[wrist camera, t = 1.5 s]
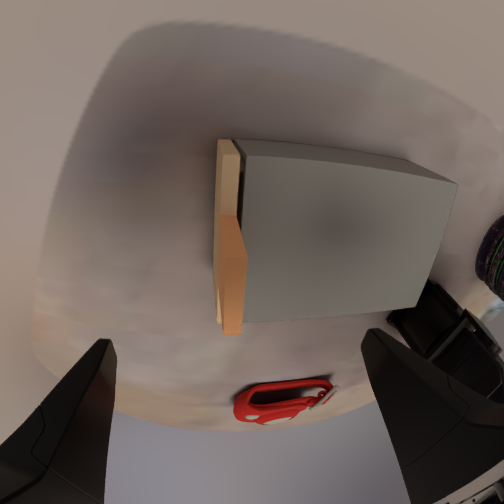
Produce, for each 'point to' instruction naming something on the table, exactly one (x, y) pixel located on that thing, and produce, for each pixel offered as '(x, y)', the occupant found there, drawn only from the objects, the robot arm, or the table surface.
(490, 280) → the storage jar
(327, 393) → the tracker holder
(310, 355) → the table surface
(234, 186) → the beige open box
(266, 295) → the sleeve
